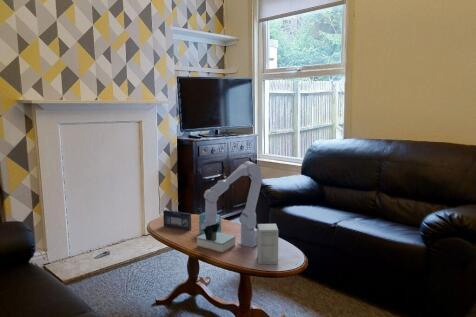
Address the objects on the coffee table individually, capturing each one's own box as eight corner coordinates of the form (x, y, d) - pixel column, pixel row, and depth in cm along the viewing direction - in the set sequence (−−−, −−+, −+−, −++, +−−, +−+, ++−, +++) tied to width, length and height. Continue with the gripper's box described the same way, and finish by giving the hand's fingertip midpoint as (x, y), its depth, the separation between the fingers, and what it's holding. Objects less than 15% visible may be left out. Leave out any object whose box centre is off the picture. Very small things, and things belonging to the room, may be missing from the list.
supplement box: (275, 256, 186) (276, 223, 183) (278, 264, 176) (279, 229, 174) (256, 256, 185) (257, 223, 183) (258, 264, 176) (258, 229, 174)
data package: (221, 235, 214) (221, 214, 212) (217, 237, 210) (217, 216, 209) (203, 231, 220) (203, 211, 218) (199, 233, 216) (198, 213, 214)
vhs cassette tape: (163, 226, 228) (162, 210, 227) (166, 225, 231) (165, 209, 229) (188, 231, 220) (188, 214, 219) (191, 229, 223) (191, 213, 222)
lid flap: (235, 237, 198) (235, 229, 198) (222, 245, 188) (222, 236, 187) (210, 231, 207) (210, 223, 206) (196, 238, 197) (196, 229, 196)
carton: (235, 245, 199) (235, 238, 198) (222, 253, 189) (222, 245, 188) (210, 239, 207) (210, 232, 207) (197, 246, 197) (197, 238, 197)
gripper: (213, 208, 200) (213, 233, 202) (195, 215, 188) (196, 241, 190) (224, 210, 196) (223, 235, 198) (207, 217, 184) (207, 244, 186)
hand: (211, 238), depth 194 cm, fingers open, 4 cm apart
